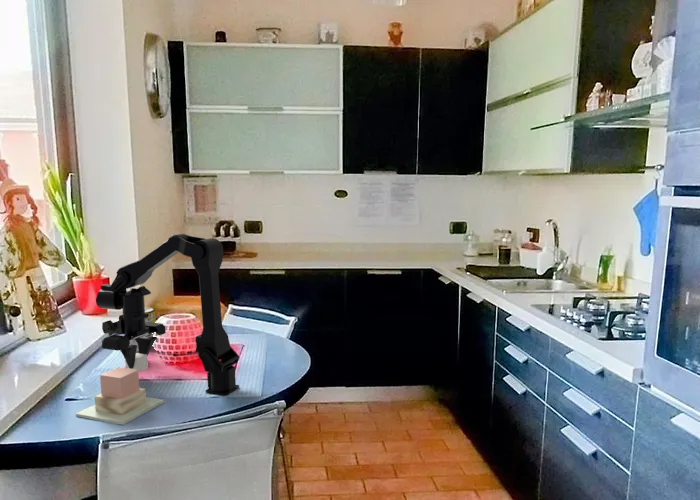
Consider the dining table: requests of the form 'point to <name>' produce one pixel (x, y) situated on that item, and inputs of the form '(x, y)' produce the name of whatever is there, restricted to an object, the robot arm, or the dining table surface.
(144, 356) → the cap block
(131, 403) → the block
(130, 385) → the coral block
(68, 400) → the dining table surface
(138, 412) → the baseplate
